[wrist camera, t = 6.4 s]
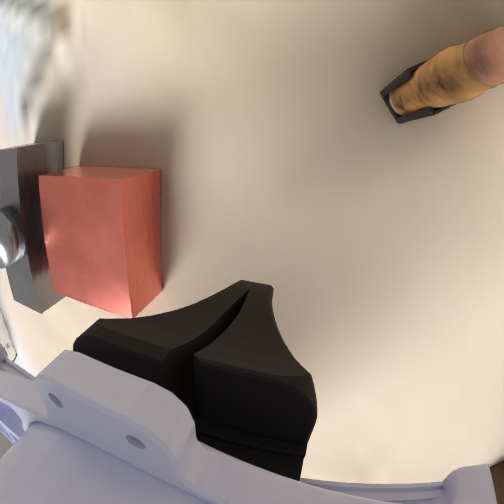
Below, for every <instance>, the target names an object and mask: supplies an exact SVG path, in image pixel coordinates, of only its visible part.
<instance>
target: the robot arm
mask: <svg viewBox="0 0 504 504" xmlns="http://www.w3.org/2000/svg"><path fill="white" fill-rule="evenodd" d="M273 289H274V288H273V287H272V286H271V285H266V284H261V283H255V282H250V281H244V280H240V281H238V282H236V283H235V284H233V285H231V286H229V287H227V288H226V289H224V290H222V291H220V292H218V293H216V294H214V295H212V296H210V297H208V298H206V299H204V300H201V301H199V302H197V303H195V304H192V305H190V306H187V307H184V308H181V309H178V310H174V311H170V312H166V313H161V314H157V315H152V316H145V317H137V318H125V319H99V320H97V321H96V322H95V323H94V324H93V325H92V326H90V327H89V328H88V329H87V330H86V331H85V332H83V333H82V334H81V335H80V336H79V337H78V338H77V339H76V340H75V342H74V344H73V351H69V350H64V351H63V352H62V353H61V354H60V355H59V356H58V357H57V358H55V359H54V360H53V361H52V362H51V363H50V364H49V365H48V366H47V367H46V368H44V369H43V370H42V371H41V372H40V373H39V374H38V375H37V376H36V378H35V377H34V376H32V375H31V374H29V373H28V372H27V371H25V370H24V369H22V368H21V367H19V366H18V365H16V364H15V363H14V362H12V361H11V360H10V359H8V358H7V356H6V353H5V350H4V348H3V346H2V344H1V343H0V431H1V432H2V433H3V434H4V435H5V436H6V437H7V438H8V439H9V440H10V441H11V442H12V443H14V444H13V446H12V447H11V448H10V449H9V450H8V451H7V452H6V453H5V454H4V456H3V457H2V458H1V459H0V504H497V501H496V496H495V491H494V486H493V481H492V477H491V472H490V468H489V464H482V465H475V466H467V467H462V468H458V469H456V470H454V471H453V472H451V473H450V474H449V475H448V476H447V477H446V478H445V480H444V481H442V482H431V483H415V484H362V483H345V482H333V481H323V480H314V479H307V478H300V476H301V470H302V465H303V459H304V457H305V454H306V449H307V443H308V441H309V438H310V436H311V433H312V431H313V428H314V426H315V423H316V419H317V400H316V393H315V388H314V384H313V380H312V376H311V374H310V373H309V372H308V371H307V370H306V369H305V368H304V367H302V366H301V365H300V364H299V363H298V362H297V361H296V359H295V358H294V357H293V355H292V354H291V352H290V351H289V349H288V348H287V346H286V345H285V343H284V341H283V339H282V337H281V335H280V332H279V330H278V327H277V325H276V321H275V318H274V314H273V308H272V297H273Z"/></svg>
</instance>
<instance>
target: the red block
mask: <svg viewBox="0 0 504 504" xmlns="http://www.w3.org/2000/svg"><path fill="white" fill-rule="evenodd" d="M160 184H161V169H144V168H124V167H96V166H77V167H72V168H68V169H64V170H59V171H55V172H51V173H47V174H43V175H39V191H40V204H41V214H42V223H43V231H44V238H45V245H46V251H47V257H48V263H49V268H50V274H51V279H52V283H53V288H54V292H57V293H59V294H62V295H65V296H67V297H70V298H72V299H75V300H78V301H80V302H83V303H86V304H89V305H91V306H94V307H97V308H100V309H103V310H105V311H108V312H111V313H114V314H117V315H120V316H123V317H126V318H134V317H136V316H137V315H138V314H139V313H140V312H141V311H142V310H143V309H144V308H145V307H146V306H147V305H148V304H149V303H150V302H151V301H152V300H153V299H154V298H155V297H156V296H157V295H158V294H159V293H160V292H161V291H163V289H162V268H161V234H160Z"/></svg>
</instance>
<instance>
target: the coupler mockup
mask: <svg viewBox="0 0 504 504" xmlns="http://www.w3.org/2000/svg"><path fill="white" fill-rule="evenodd" d="M59 170H64V167H63V140H61V141H51V142H41V143H32V144H26V145H21V146H15V147H10V148H4V149H0V268H1V269H3V268H5V267H6V270H7V275H8V279H9V283H10V287H11V290H12V294H13V297H14V300H15V301H17V302H19V303H21V304H23V305H25V306H27V307H29V308H31V309H33V310H35V311H37V312H39V313H41V314H42V313H43V312H44V311H46V310H47V309H49V308H50V307H51V306H53V305H54V304H56V303H57V302H58V301H60V300H61V299H63V298H64V297H65V295H62V294H59V293H57V292H54V288H53V283H52V279H51V274H50V268H49V263H48V257H47V251H46V245H45V238H44V231H43V223H42V214H41V204H40V191H39V175H43V174H47V173H51V172H55V171H59Z"/></svg>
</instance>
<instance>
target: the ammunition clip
mask: <svg viewBox="0 0 504 504" xmlns="http://www.w3.org/2000/svg"><path fill="white" fill-rule="evenodd" d="M502 83H504V27H500V28H497V29H494V30H491V31H488V32H485V33H483V34H481V35H479V36H477V37H476V38H474V39H471V40H468V41H466V42H464V43H462V44H461V45H457V46H451V47H448V48H446V49H444V50H442V51H440V52H439V53H437V54H436V55H435V56H433V57H432V58H431V59H428V60H426V61H424V62H422V63H420V64H418V65H415V66H413V67H411V68H409V69H407V70H406V71H405V72H403V73H402V74H401V75H400V76H399V77H397V78H396V79H395V80H394V81H393V82H392V83H390V84H389V85H388V86H387V87H386V88H384V89H383V90H382V91H381V92H380V95H381V97H382V98H383V100H384V101H385V103H386V105H387V106H388V108H389V110H390V111H391V113H392V115H393V116H394V118H395V120H396V122H397V123H399V124H400V123H404V122H408V121H412V120H416V119H420V118H424V117H428V116H432V115H435V114H437V113H439V112H441V111H443V110H445V109H447V108H449V107H451V106H453V105H455V104H457V103H461V102H465V101H469V100H472V99H474V98H476V97H478V96H479V95H481V94H482V93H483V92H484V91H485V90H487V89H490V88H493V87H495V86H497V85H499V84H502Z"/></svg>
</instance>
